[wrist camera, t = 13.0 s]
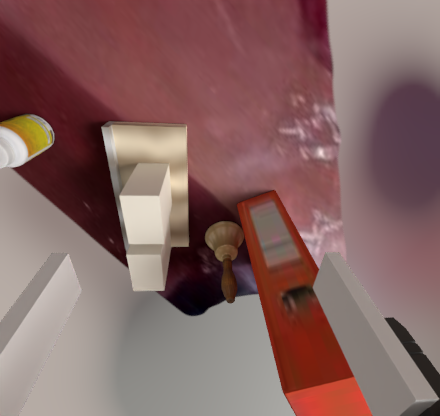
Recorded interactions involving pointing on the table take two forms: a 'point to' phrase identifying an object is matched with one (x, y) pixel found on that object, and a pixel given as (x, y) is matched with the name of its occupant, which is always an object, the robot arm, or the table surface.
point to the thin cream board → (151, 153)
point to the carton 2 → (149, 264)
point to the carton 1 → (147, 203)
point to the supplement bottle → (23, 139)
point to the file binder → (297, 315)
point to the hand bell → (226, 252)
